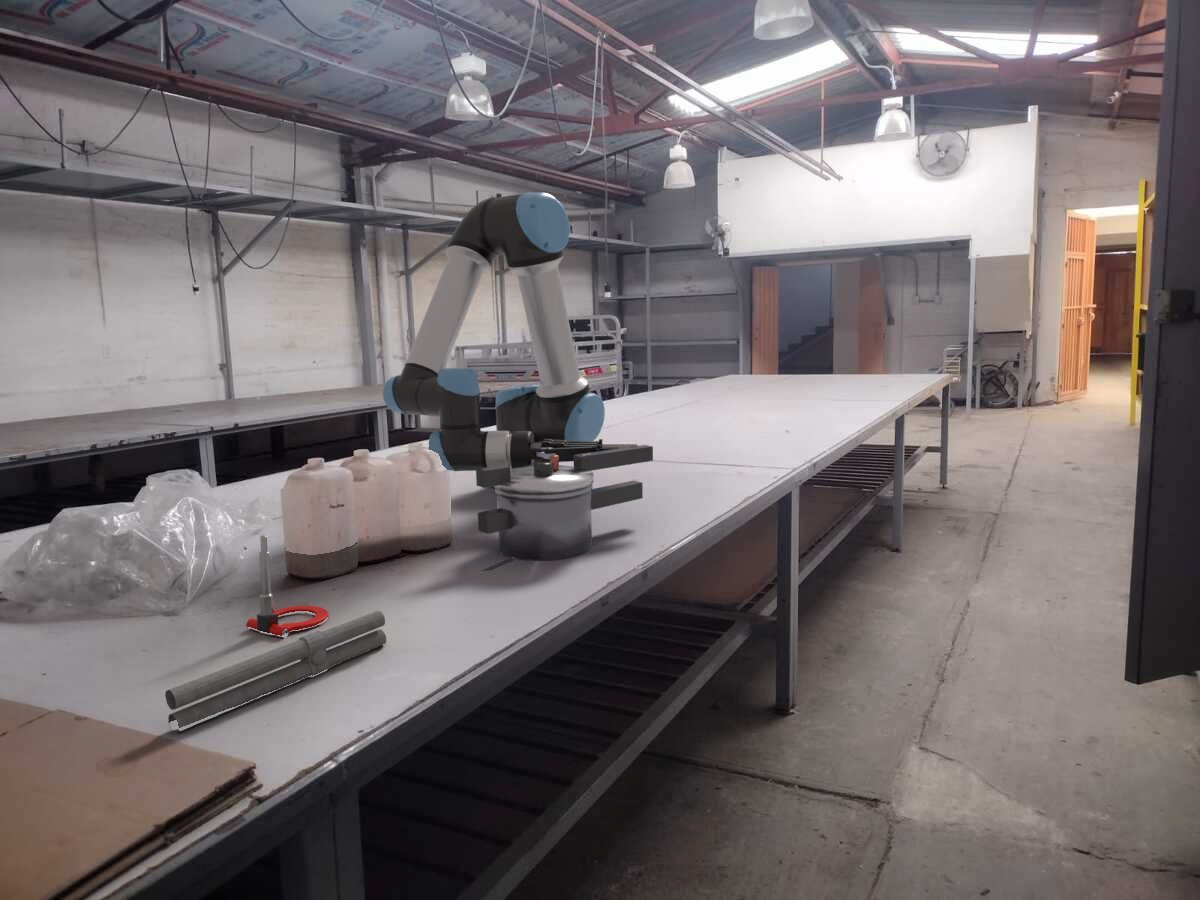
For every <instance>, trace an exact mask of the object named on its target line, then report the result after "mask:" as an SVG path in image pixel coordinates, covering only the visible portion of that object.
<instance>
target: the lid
mask: <svg viewBox="0 0 1200 900" xmlns="http://www.w3.org/2000/svg"><path fill="white" fill-rule="evenodd" d="M549 457H550V462H545V461H544V462H535V463H534V466H527V467H519V468H513V469H510V467H508V466H504V465H501V466H494V467H487V468H480V469H476V471H475V475H476V476H475V479H476V480H475V481H476V486H478V487H480V488H491V487H492V486H494V487H495V488H497V489H499V490H503V491H508V492H515V493H530V494H541V493H558V492H566V491H572V490H577V489H581V488H585V487H587V486H590V485H591V484H594V483H595V482H594V481H595V480H594V479H595V478H594V472H593V471H597V470H603V469H610V468H616V467H621V466H628V465H629V466H630V465H634V464H635V465H637V464H642V463H647V462H653V461H654V447H653V445H648V444H641V445H637V446H633V447H626V448H619V449H612V450H605V451H598V452H591V453H584V454H577V455H573V458H574V461H573V466H572V465H560V462H559V455H550V456H549ZM492 488H493V487H492ZM495 488H494V489H495Z"/></svg>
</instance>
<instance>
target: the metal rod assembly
mask: <svg viewBox="0 0 1200 900" xmlns="http://www.w3.org/2000/svg"><path fill="white" fill-rule="evenodd" d="M385 624H386V618H385V615H384V614H383V612H382V611H380V610H376V611H373V612H371V613H368V614H365V615H363V616H360V617H358V618H355V619H353V620H349V621H347V622H343V623H342V624H339V625H336V626H334V627H330V628H328V629H325V630H323V631H320V630H316V631H314V632H310V633H308V634H305V635H302V636H300V637H299V638H298V640H295V641H292V642H290V643H288V644H285V645H282V646H279V647H277V648H274V649H272V650H269V651H266V652H264V653H261V654H259V655H256V656H254V657H251V658H248V659H245V660H243V661H239V662H238V663H236V664H233V665H230V666H228V667H225V668H222V669H220V670H217V671H214V672H212V673H209V674H207V675H203V676H202V677H198V678H196V679H194V680H191V681H188V682H186V683H183V684H180V685H177V686H175V687H172V688H170V689H167V690H166V691H165V695H164V696H165V700H166V705H167V707H168V708H169V709H170V710H172V711H174V710H177V709H179V710H177V711H174V712H173V713H170V714H168V722H167V723H168V724H169V723H170V722H171V721H174V720H177V722H178V726H179V728H181V727H183V726H186V725H189V724H191V723H194V722H196V721H199V720H201V719H204V718H206V717H208V716H211V715H214V714H216V713H218V712H221V711H224V710H226V709H229V708H232V707H236V706H238V705H241V704H243V703H245V702H248V701H250V700H252V699H255V698H257V697H259V696H261V695H264V694H267V693H269V692H272V691H274V690H277V689H279V688H282V687H284V686H286V685H289V684H291V683H294V682H296V681H298V680H301V679H303V678H306V677H308V676H311V675H312V676H313V675H316V674H318V673H320V672H322V671H324V670H326V669H328V670H329V669H330V668H329V667H331V666H333V665H335V664H338V663H340V662H343V661H345V660H347V659H349V658H352V657H354V656H356V655H358V656H360V655H359V654H361V653H363V654H365V653H367V652H366V651H368V650H370V651H372V650H371V649H373V648H375V649H377V648H379V647H378V646H380V647H382V646H384V645H385V644H386V643H387V635H386V633H385V632H384V630H383V629H380V628H381V627H383V626H385ZM371 631H372V632H371ZM361 635H362V636H361ZM358 636H359V637H358ZM349 640H350V641H349ZM341 643H342V644H341ZM383 644H384V645H383ZM381 645H382V646H381ZM331 647H332V648H331ZM376 647H377V648H376ZM327 649H328V650H327ZM373 650H374V649H373ZM364 652H365V653H364ZM368 652H369V651H368ZM361 655H362V654H361ZM356 657H357V656H356ZM354 658H355V657H354ZM352 659H353V658H352ZM349 660H350V659H349ZM296 661H297V662H296ZM347 661H348V660H347ZM294 662H295V663H294ZM345 662H346V661H345ZM343 663H344V662H343ZM340 664H341V663H340ZM286 665H287V666H286ZM338 665H339V664H338ZM282 667H283V668H282ZM333 667H334V666H333ZM331 668H332V667H331ZM276 669H277V670H276ZM274 670H275V671H274ZM272 671H273V672H272ZM262 675H263V676H262ZM259 676H261V677H259ZM257 677H258V678H257ZM254 678H255V679H254ZM252 679H253V680H252ZM249 680H251V681H249ZM247 681H248V682H247ZM244 682H246V683H244ZM242 683H243V684H242ZM240 684H241V685H240ZM237 685H238V686H237ZM234 686H236V687H234ZM231 687H233V688H231ZM229 688H231V689H229ZM227 689H229V690H227ZM225 690H226V691H225ZM221 691H224V692H221ZM219 692H221V693H219ZM217 693H219V694H217ZM215 694H216V695H215ZM212 695H214V696H212ZM209 696H211V697H209ZM207 697H209V698H207ZM204 698H207V699H204ZM202 699H204V700H202ZM199 700H201V701H199ZM197 701H199V702H197ZM194 702H196V703H194ZM192 703H193V704H192ZM190 704H191V705H190ZM187 705H189V706H187ZM185 706H187V707H185ZM182 707H184V708H182ZM180 708H182V709H180Z"/></svg>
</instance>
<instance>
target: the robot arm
mask: <svg viewBox="0 0 1200 900" xmlns="http://www.w3.org/2000/svg"><path fill="white" fill-rule="evenodd" d="M570 235H571V226H570V221H569V217H568V215H567V212H566V209H565V207H564V206H563V205H562V203H561V202H560V200H558V199H556V197H555V196H553V195H552V194H550V193H547V192H542V191H541V192H540V191H539V192H532V191H529V192H524V193H517V194H511V195H505V196H500V197H498V196H495V197H490V198H489V197H488V198H486V199H483V200H482V201H480V202H478V203H476V204H475V205H474V206H473V207H471V209H470V210H468V212H467V213H466V214H465V215H464V217H463V218H462V219H461V220H460V223H459V224H458V225H457V227H456V228H455V230H454V232H453V234H452V236H451V238H450V239H449V242H448V244H447V247H446V249H445V256H446V258H447V260H446V263H445V265H444V267H443V270H442V273H441V276H440V277H439V280H438V282H437V285H436V287H435V289H434V291H433V292H434V293H433V294H432V297H431V300H430V302H429V305H428V307H427V309H426V311H425V312H426V313H425V314H424V317H423V320H422V322H421V324H420V327H419V329H418V332H417V334H416V336H415V339H414V342H413V343H412V347H411V349H410V351H409V354H408V356H407V357H406V358H407V359H406V361H405V364H404V367H403V369H402V370H401V374H397V375H393V376H391V377H390V378H389V379H388V380H387V381H386V382H385V383H384V386H383V389H382V390H383V391H382V397H383V402H384V404H385V406H386V407H387V408H388V409H389V410H390V411H391V412H395V413H399V414H403V415H407V416H412V415H417V416H428V417H435V418H436V417H437V418H439V430H437V431H432V433H431V434H430V436H429V439H428V447H427V449H429V450H432V451H434V452H436V453H438V454H439V456H440V459H441V461H442V465H443V466H444V467H445V468H446V469H447V470H446V471H452V472H467V471H468V472H474V471H475V472H476V469H480V468H487V467H494V466H501V465H504V466H508V467H510V469H513V468H519V467H527V466H534V463H535V462H544V461H545V462H550V457H549V456H550V455H559V463H566V462H569V463H570V462H574V458H573V455H577V454H584V453H591V452H598V451H605V450H612V449H619V448H626V447H633V446H638V442H603V439H602V438H599V440H596V439H597V437H599V435H600V433H601V431H602V428H603V426H604V422H605V413H606V412H605V404H604V401H603V399H602V398H601V397H600V396H599V395H598V394H596V393H593V392H591V390H590V385H589V381H588V379H587V378H585V377H584V376H582V375H581V374H580V370H579V365H578V361H577V355H576V351H575V346H574V345H575V344H574V342H573V335H572V331H571V330H572V329H571V326H570V321H569V316H568V315H569V314H568V310H567V305H566V301H565V300H566V299H565V296H564V295H565V294H564V291H563V285H562V280H561V274H560V270H559V265H560V263H561V262H562V259H563V258H564V253H563V250H564V249H565V248H566V247H567V245H568V243H569V240H570V238H569V236H570ZM501 256H503V257H504V256H505V257H504V258H505V260H506V266H507V269H509V270H511V271H512V272H514V273H515V275H517V280H518V285H519V289H520V294H521V298H522V299H521V300H522V303H523V307H524V308H523V309H524V311H525V317H526V322H527V326H528V330H529V335H530V340H531V344H532V349H533V353H534V358H535V363H536V366H537V370H538V371H537V372H538V375H539V380H540V384H534V385H533V384H532V385H527V386H526V385H524V386H518V387H517V386H516V387H511V388H502V389H500V390H498V391H497V392H496V394H495V406H494V410H495V427H496V430H486V431H483V430H481V403H480V402H481V400H480V396H481V395H480V393H481V388H480V383H479V373H478V371H477V370H476V369H475V368H472V367H447V364H448V362H449V360H450V357H451V355H452V352H453V349H454V347H455V344H456V341H457V339H458V337H459V334H460V331H461V329H462V326H463V324H464V321H465V319H466V316H467V314H468V311H469V308H470V305H471V303H472V301H473V298H474V295H475V294H476V291H477V288H478V285H479V283H480V280H481V279H482V276H483V275H484V274H487V273H488V272H489V271H490V269H491V267H492V264H493V262H494V260H496V259H497V258H498V257H501ZM492 488H494V489H495V487H494V486H492Z"/></svg>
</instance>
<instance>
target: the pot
mask: <svg viewBox="0 0 1200 900" xmlns="http://www.w3.org/2000/svg"><path fill="white" fill-rule="evenodd" d="M593 484H594V483H592V484H591V485H590V486H587V487H585V488H581V489H577V490H572V491H566V492H558V493H541V494H530V493H515V492H508V491H503V490H499V489H497V488H494V493H495V494H496V505H497V508H494V509H490V510H485V511H481V512H477V522H478V523H477V524H478V525H477V527H478V531H479V532H480V533H484V534H487V535H489V534H493V533H498V550H500V551H499V552H500V553H501V552H502V553H503V554H502V553H501V554H502V555H503V556H506V555H507V556H506V557H508V556H510V557H509V558H511V557H514V558H513V559H515V558H517V559H516V560H523V561H534V562H535V561H537V562H539V561H540V562H541V561H557V560H565V559H569V558H574V557H578V556H580V555H583V554H586V553H587V552H588V551H590V550H591V549H592V547H593V529H592V528H593V527H592V524H593V521H592V510H597V509H602V508H606V507H610V506H615V505H618V504H624V503H627V502H628V503H629V502H633V501H636V500H641V499H643V492H644V489H643V482H641V481H636V480H630V481H629V480H628V481H625V482H620V483H615V484H611V485H605V486H601V487H596V488H593Z"/></svg>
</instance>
